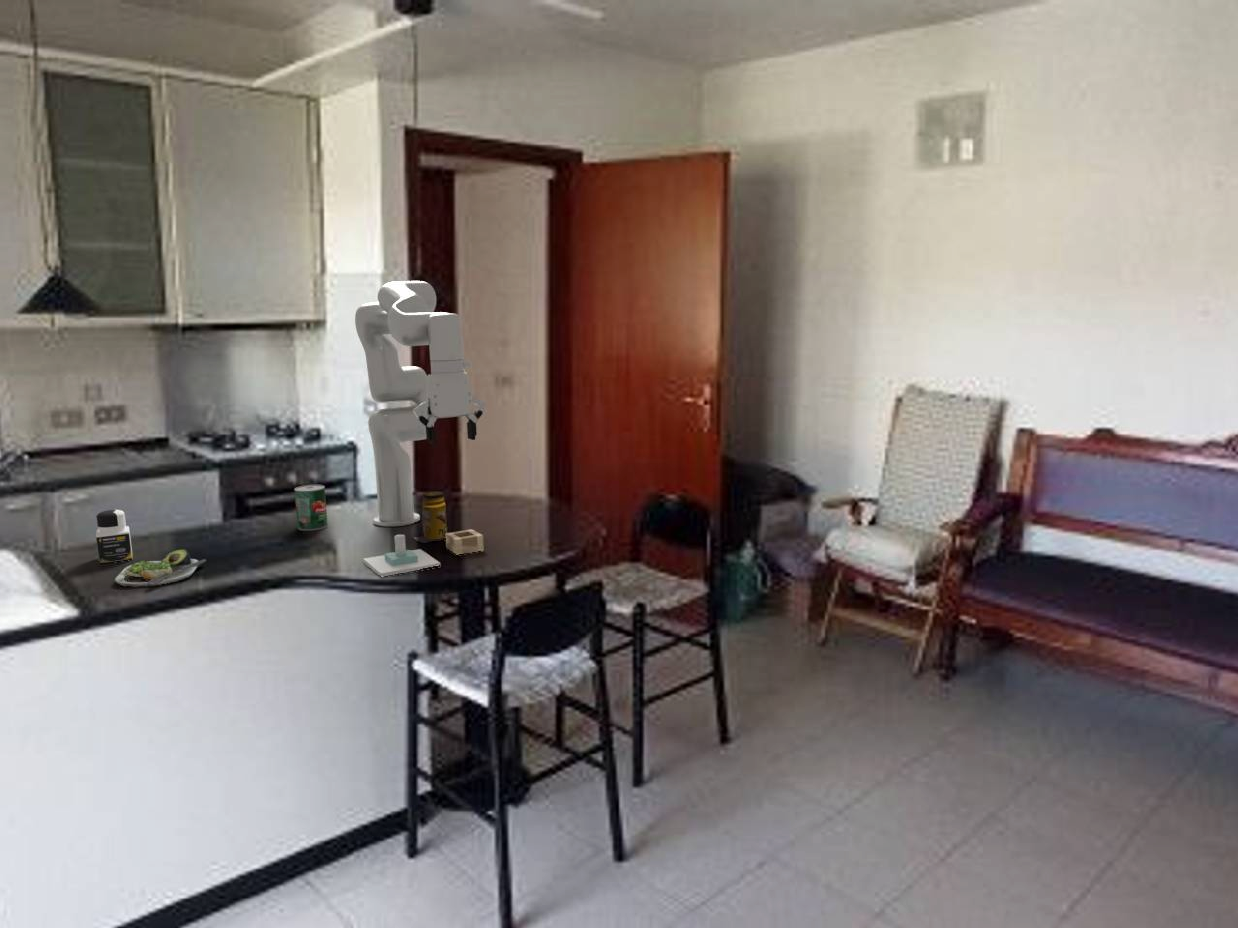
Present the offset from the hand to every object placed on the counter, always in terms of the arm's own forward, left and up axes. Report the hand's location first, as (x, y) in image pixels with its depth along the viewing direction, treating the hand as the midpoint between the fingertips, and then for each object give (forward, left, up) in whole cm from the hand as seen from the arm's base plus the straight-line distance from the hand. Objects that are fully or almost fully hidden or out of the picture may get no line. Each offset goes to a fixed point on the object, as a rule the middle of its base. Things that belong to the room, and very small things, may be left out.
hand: (452, 441), depth 219 cm
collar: (-6, +4, -28) cm, 29 cm away
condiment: (-21, +1, -29) cm, 36 cm away
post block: (-3, -13, -28) cm, 31 cm away
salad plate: (-28, -62, -29) cm, 74 cm away
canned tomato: (-52, -22, -29) cm, 63 cm away
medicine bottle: (-49, -70, -29) cm, 90 cm away
